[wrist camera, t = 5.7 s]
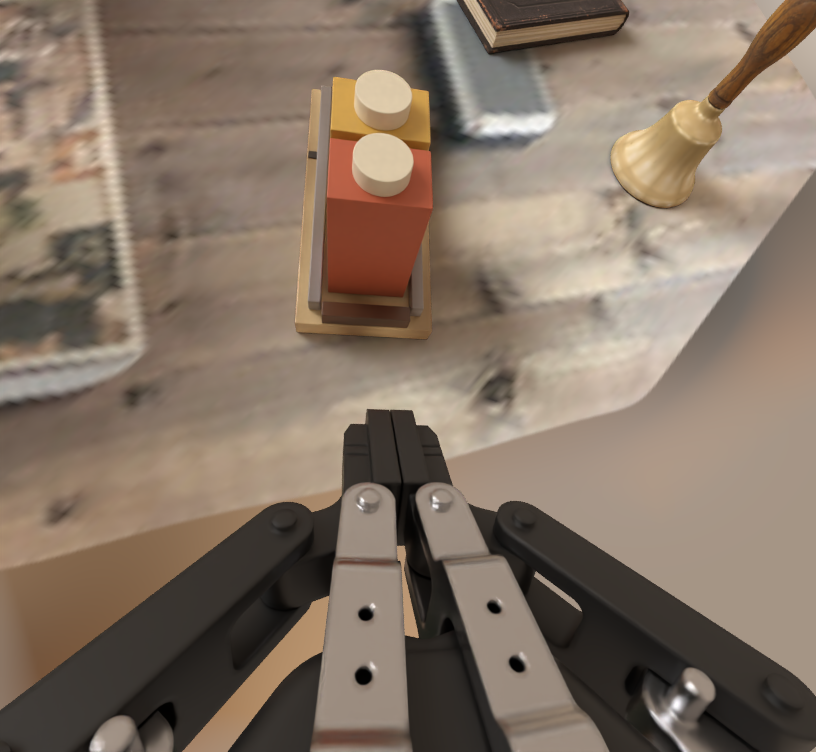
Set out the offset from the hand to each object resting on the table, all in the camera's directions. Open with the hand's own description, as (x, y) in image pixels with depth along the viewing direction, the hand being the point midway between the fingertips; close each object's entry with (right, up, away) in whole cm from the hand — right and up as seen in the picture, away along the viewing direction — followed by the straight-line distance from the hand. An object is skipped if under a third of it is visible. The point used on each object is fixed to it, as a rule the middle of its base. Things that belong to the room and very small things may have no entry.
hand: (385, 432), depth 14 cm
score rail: (-2, +14, +18) cm, 23 cm away
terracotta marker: (-2, +9, +15) cm, 17 cm away
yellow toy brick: (-2, +13, +16) cm, 20 cm away
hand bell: (+23, +21, +25) cm, 40 cm away
